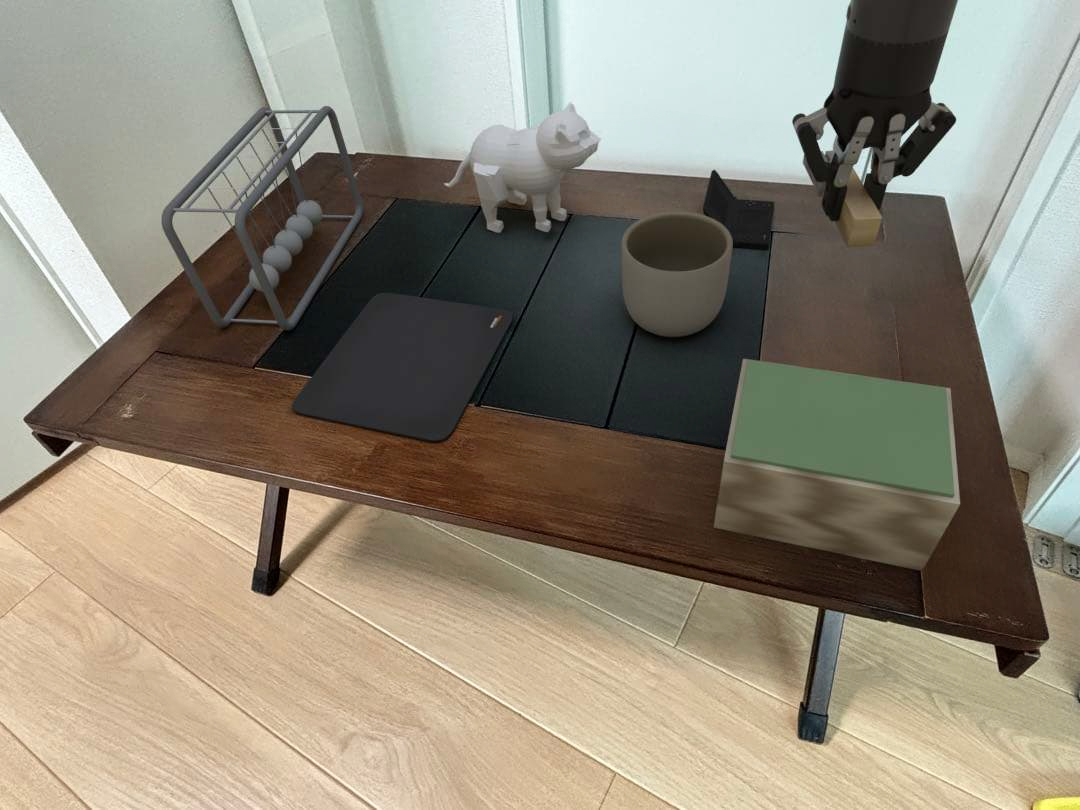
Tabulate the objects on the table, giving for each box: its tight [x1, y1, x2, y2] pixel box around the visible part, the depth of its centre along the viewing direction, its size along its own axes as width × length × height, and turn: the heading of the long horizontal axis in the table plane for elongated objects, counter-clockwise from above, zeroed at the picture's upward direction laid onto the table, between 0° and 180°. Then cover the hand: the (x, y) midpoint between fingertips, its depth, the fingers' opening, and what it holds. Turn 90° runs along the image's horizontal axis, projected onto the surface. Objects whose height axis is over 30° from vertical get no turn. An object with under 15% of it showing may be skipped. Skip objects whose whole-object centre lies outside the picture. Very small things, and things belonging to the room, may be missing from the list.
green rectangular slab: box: [731, 359, 955, 498], centre depth 62 cm, size 17×12×1 cm
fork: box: [802, 150, 883, 248], centre depth 70 cm, size 16×3×3 cm, turn 179°
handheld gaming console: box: [702, 169, 775, 250], centre depth 99 cm, size 12×7×10 cm
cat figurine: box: [443, 101, 602, 234], centre depth 101 cm, size 25×10×17 cm, turn 71°
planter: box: [620, 210, 734, 338], centre depth 85 cm, size 12×12×11 cm
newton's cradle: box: [160, 105, 364, 332], centre depth 97 cm, size 30×10×18 cm, turn 170°
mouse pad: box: [291, 292, 514, 443], centre depth 87 cm, size 23×20×1 cm
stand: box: [713, 358, 961, 572], centre depth 66 cm, size 18×13×10 cm
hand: (848, 214), depth 68 cm, fingers closed on fork, 2 cm apart
